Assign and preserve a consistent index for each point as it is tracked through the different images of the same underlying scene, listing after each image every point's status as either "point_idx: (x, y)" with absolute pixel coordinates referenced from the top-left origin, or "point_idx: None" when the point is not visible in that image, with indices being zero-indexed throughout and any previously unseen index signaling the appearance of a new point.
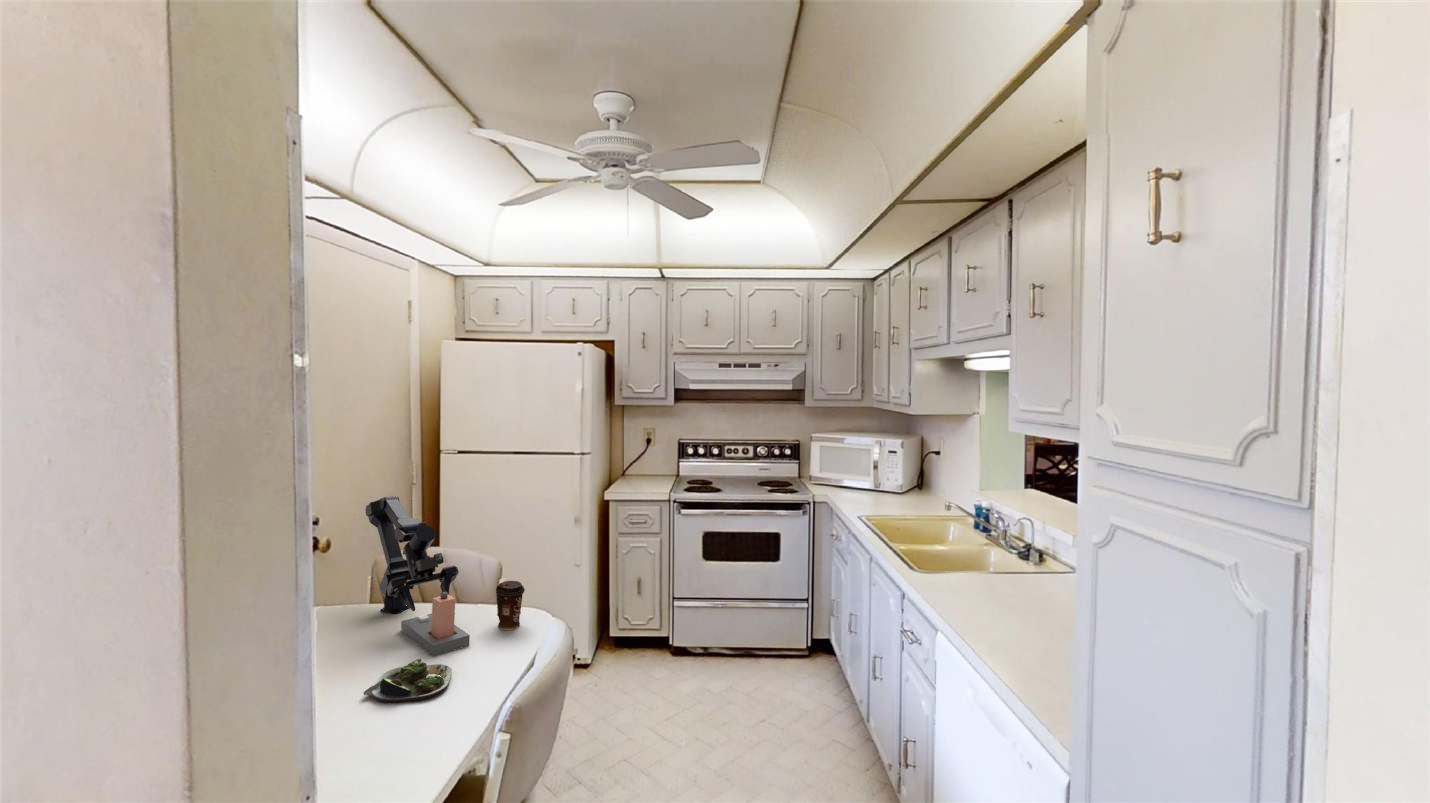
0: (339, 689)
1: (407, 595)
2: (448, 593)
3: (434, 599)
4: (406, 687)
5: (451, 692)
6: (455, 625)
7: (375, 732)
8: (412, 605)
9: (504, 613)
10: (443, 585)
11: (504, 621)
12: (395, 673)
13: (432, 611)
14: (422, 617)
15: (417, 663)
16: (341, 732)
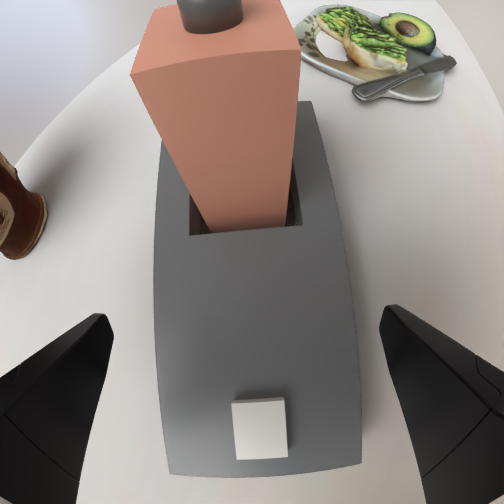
0: (498, 123)
1: (500, 377)
2: (51, 343)
3: (292, 33)
4: (387, 30)
5: (309, 10)
6: (155, 236)
7: (414, 12)
8: (418, 320)
9: (12, 170)
10: (32, 459)
11: (27, 191)
12: (414, 68)
13: (292, 133)
14: (268, 424)
15: (370, 48)
16: (453, 34)
